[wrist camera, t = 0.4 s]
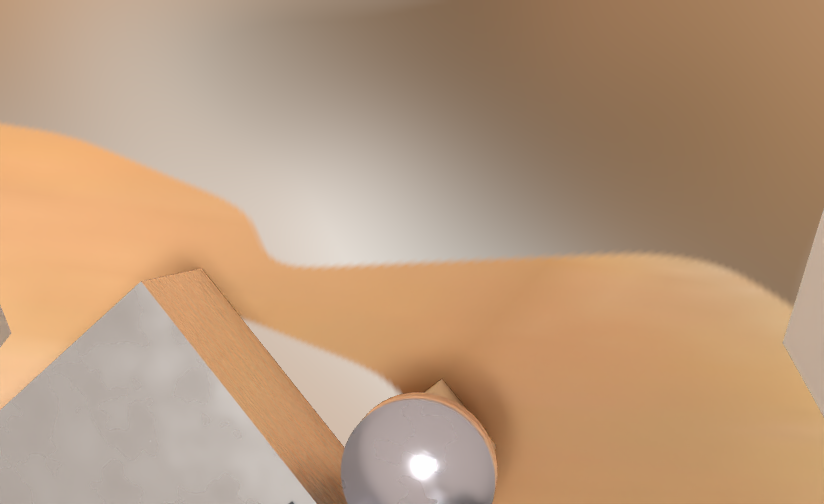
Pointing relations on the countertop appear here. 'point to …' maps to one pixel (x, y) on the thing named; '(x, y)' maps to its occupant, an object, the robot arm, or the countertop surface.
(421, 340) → the countertop surface
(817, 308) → the robot arm
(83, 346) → the box
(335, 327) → the countertop surface
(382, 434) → the disc
